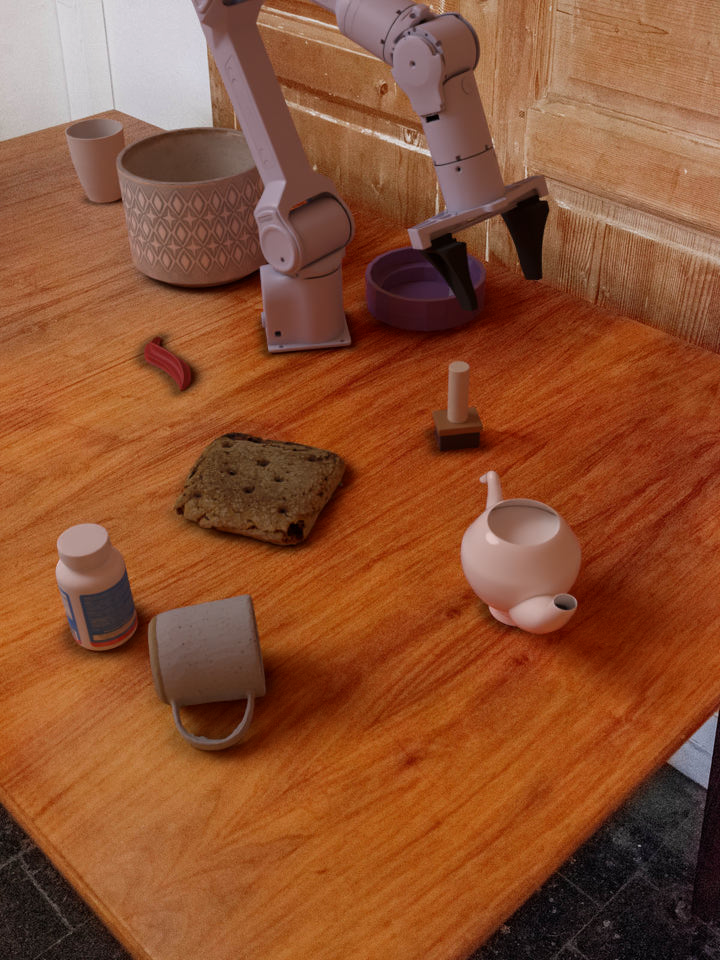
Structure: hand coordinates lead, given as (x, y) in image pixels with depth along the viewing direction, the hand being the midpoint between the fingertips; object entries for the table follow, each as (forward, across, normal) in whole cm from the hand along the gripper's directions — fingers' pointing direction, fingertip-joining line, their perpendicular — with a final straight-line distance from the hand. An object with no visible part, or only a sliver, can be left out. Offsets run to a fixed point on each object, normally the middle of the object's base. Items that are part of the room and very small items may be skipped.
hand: (502, 293), depth 106 cm
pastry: (+9, -28, +4) cm, 30 cm away
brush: (+13, -8, +2) cm, 15 cm away
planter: (-6, -13, +50) cm, 52 cm away
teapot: (+20, -18, -19) cm, 32 cm away
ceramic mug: (+15, -43, -16) cm, 48 cm away
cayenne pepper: (0, -27, +29) cm, 40 cm away
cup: (-16, -17, +75) cm, 79 cm away
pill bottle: (+10, -47, -6) cm, 49 cm away
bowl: (+5, +4, +26) cm, 27 cm away
